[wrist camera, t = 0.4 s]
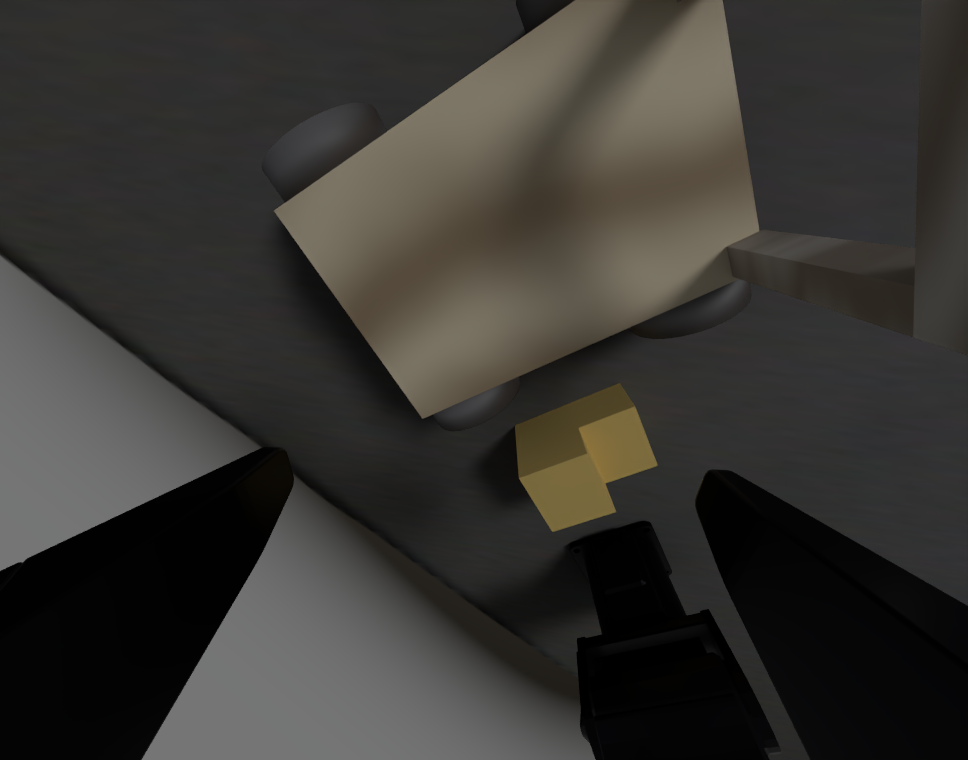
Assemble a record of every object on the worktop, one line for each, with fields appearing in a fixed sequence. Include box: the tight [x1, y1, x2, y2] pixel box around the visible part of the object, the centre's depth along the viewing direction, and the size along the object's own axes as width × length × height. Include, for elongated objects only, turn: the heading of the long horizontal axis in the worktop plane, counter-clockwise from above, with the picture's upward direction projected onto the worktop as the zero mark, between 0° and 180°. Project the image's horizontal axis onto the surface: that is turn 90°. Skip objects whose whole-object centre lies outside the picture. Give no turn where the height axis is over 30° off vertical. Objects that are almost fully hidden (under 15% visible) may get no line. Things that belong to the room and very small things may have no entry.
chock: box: [515, 383, 658, 532], centre depth 21 cm, size 5×7×5 cm, turn 118°
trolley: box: [262, 0, 968, 431], centre depth 12 cm, size 13×16×13 cm
